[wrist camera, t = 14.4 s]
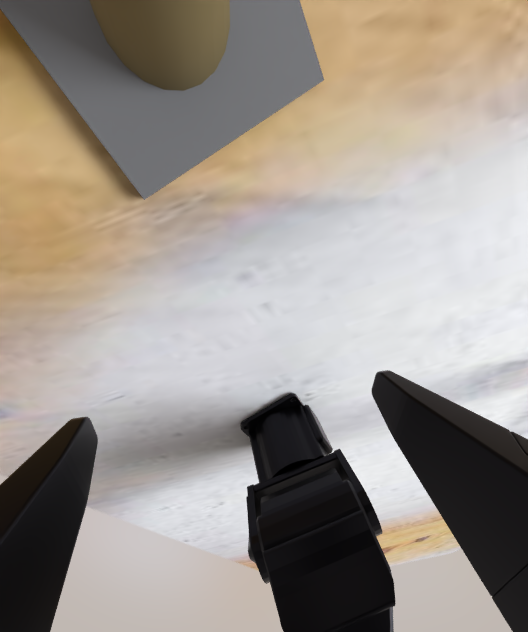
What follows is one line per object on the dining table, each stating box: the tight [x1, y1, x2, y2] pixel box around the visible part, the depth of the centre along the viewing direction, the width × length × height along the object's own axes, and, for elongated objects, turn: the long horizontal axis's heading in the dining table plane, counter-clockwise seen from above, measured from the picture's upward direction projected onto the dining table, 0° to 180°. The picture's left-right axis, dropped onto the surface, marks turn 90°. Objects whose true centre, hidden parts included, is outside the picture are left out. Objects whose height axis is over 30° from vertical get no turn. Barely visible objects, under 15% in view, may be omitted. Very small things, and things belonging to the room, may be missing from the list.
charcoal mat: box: [0, 0, 324, 200], centre depth 13 cm, size 12×12×1 cm
